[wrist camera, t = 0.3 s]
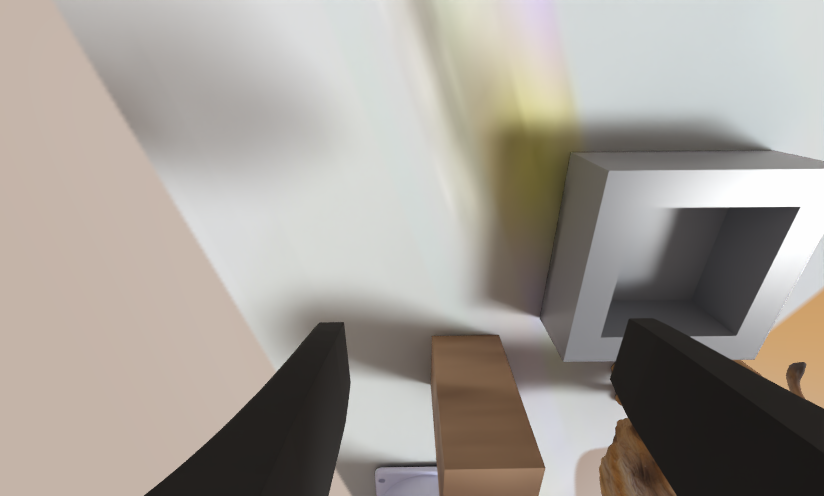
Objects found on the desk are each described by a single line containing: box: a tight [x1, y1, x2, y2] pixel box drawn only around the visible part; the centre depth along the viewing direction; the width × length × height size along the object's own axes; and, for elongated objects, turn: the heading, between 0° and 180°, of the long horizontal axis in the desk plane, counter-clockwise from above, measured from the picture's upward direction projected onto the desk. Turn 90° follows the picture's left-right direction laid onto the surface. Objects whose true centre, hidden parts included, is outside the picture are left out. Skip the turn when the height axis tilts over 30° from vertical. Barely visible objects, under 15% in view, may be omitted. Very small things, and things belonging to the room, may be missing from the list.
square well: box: [540, 151, 824, 362], centre depth 17 cm, size 10×10×4 cm
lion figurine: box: [599, 360, 806, 496], centre depth 19 cm, size 15×5×9 cm, turn 104°
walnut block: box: [431, 335, 545, 496], centre depth 19 cm, size 4×4×8 cm
